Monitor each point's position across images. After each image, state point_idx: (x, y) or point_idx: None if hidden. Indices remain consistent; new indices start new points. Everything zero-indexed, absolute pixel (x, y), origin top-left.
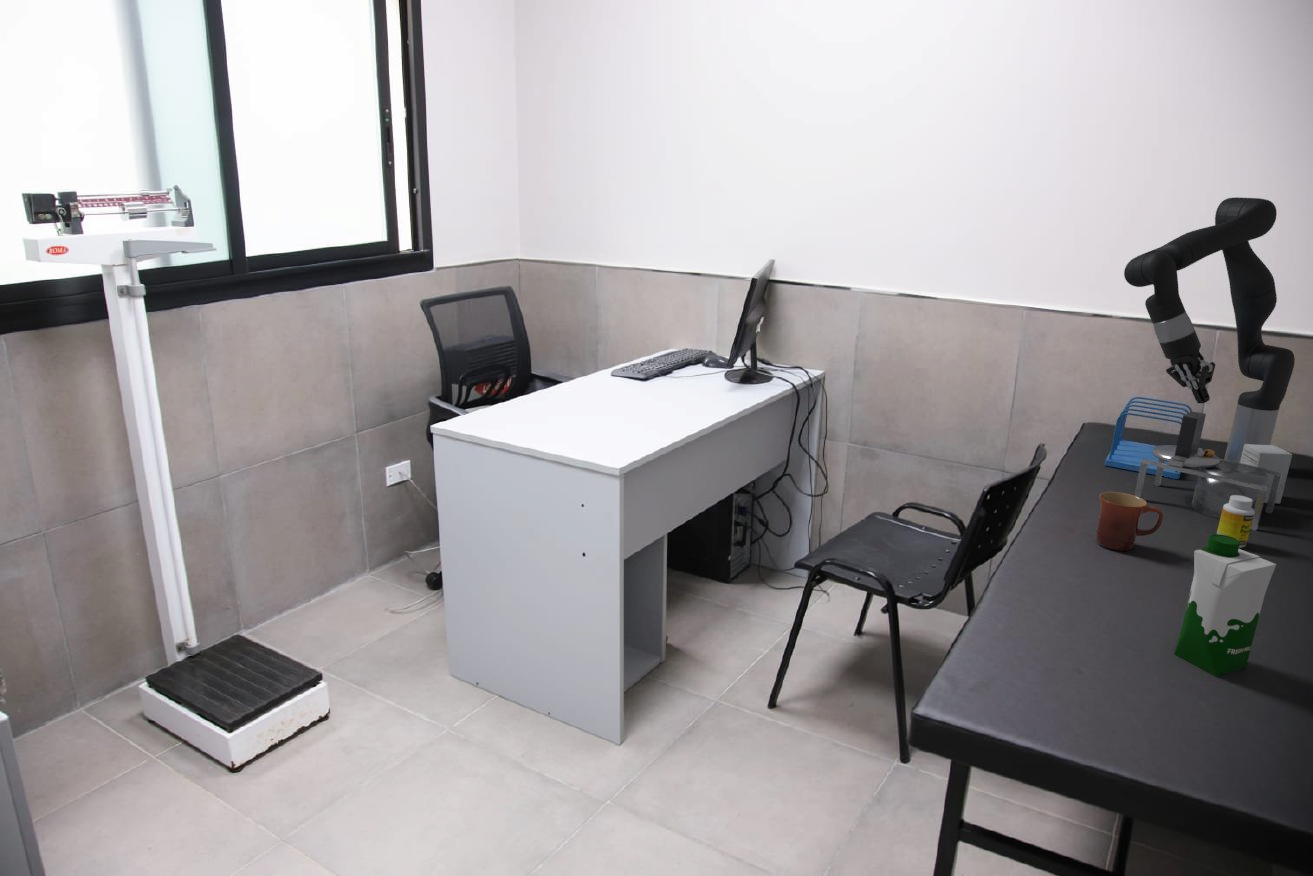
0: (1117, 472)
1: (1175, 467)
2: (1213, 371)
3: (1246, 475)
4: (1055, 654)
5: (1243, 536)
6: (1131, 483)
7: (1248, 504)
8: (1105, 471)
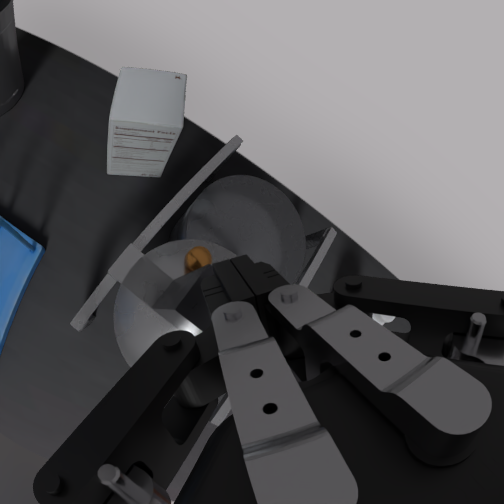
0: (24, 365)
1: None
2: (455, 289)
3: (279, 227)
4: None
5: None
6: (89, 367)
7: None
8: (26, 388)
